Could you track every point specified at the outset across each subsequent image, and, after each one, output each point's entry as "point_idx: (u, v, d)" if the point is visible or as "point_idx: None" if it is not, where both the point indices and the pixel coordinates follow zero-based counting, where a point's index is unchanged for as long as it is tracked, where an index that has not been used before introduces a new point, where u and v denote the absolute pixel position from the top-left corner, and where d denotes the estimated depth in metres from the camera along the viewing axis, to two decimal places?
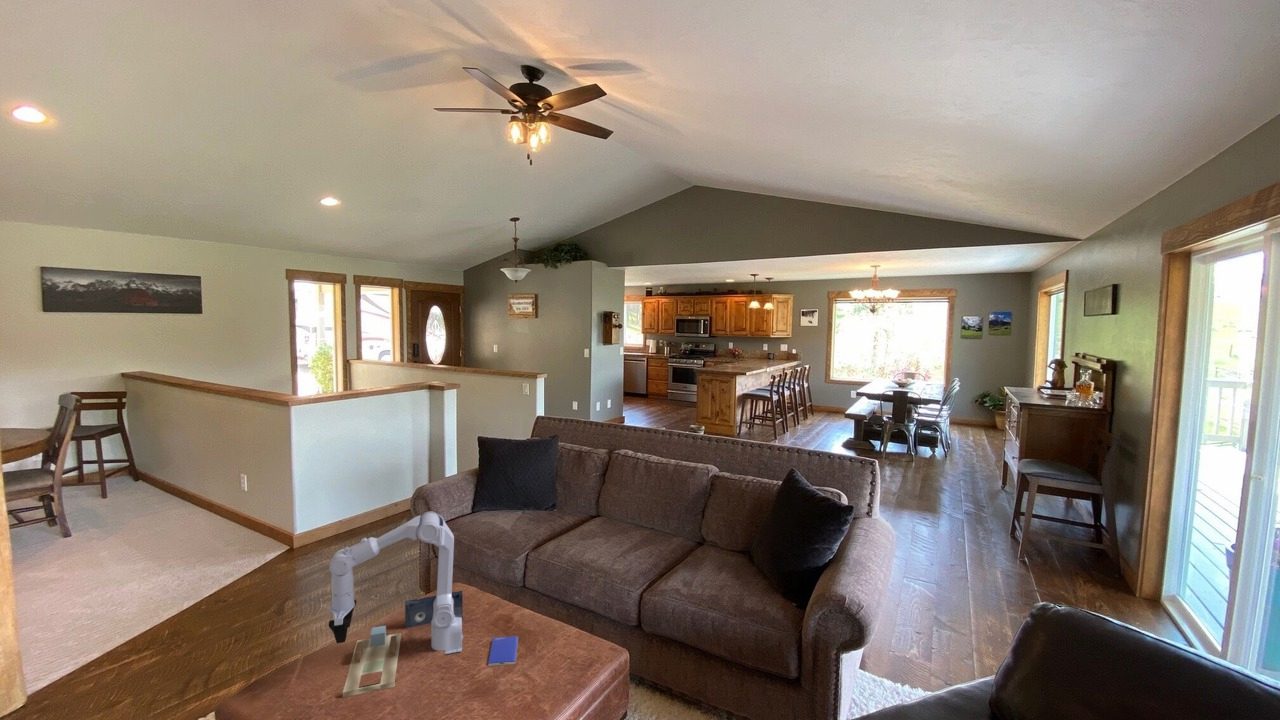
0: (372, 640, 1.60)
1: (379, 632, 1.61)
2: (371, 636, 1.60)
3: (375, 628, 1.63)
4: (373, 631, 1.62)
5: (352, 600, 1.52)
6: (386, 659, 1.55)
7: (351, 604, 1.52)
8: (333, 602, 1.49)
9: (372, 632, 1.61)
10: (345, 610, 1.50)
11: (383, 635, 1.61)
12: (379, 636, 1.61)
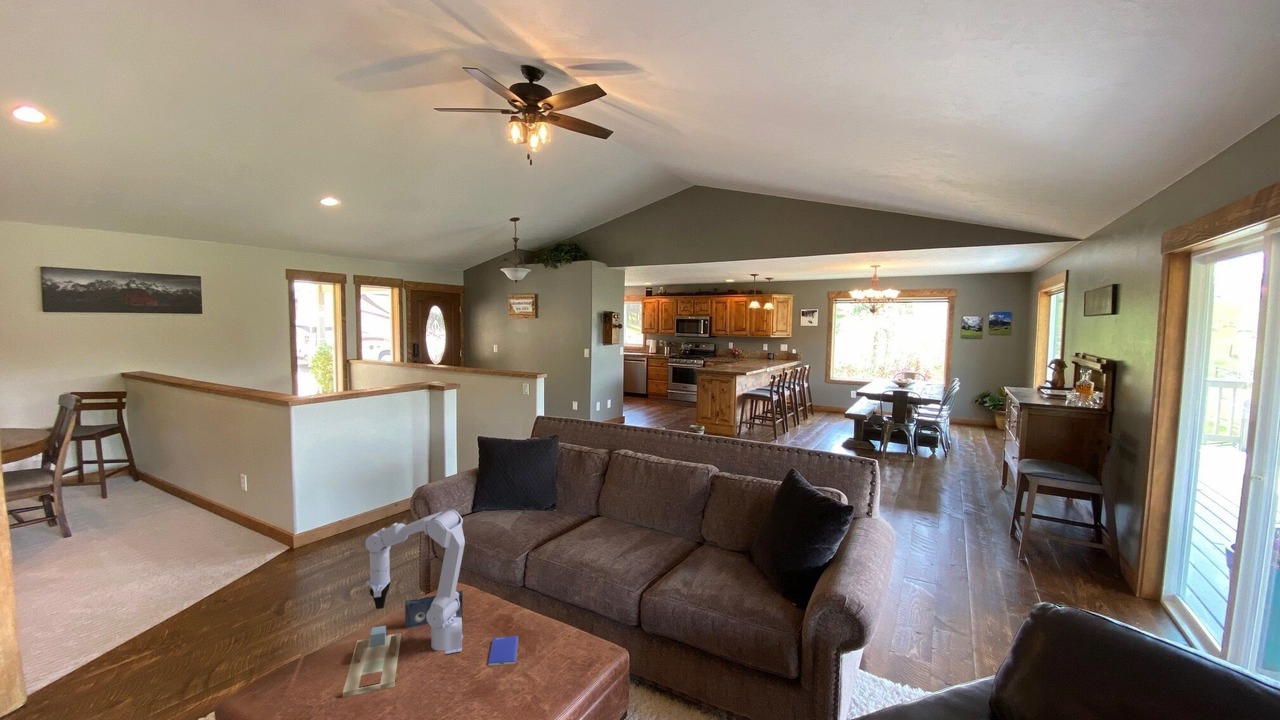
0: (372, 640, 1.60)
1: (379, 632, 1.61)
2: (371, 636, 1.60)
3: (375, 628, 1.63)
4: (373, 631, 1.62)
5: (388, 575, 1.67)
6: (386, 659, 1.55)
7: (387, 579, 1.67)
8: (371, 577, 1.64)
9: (372, 632, 1.61)
10: (382, 584, 1.65)
11: (383, 635, 1.61)
12: (379, 636, 1.61)
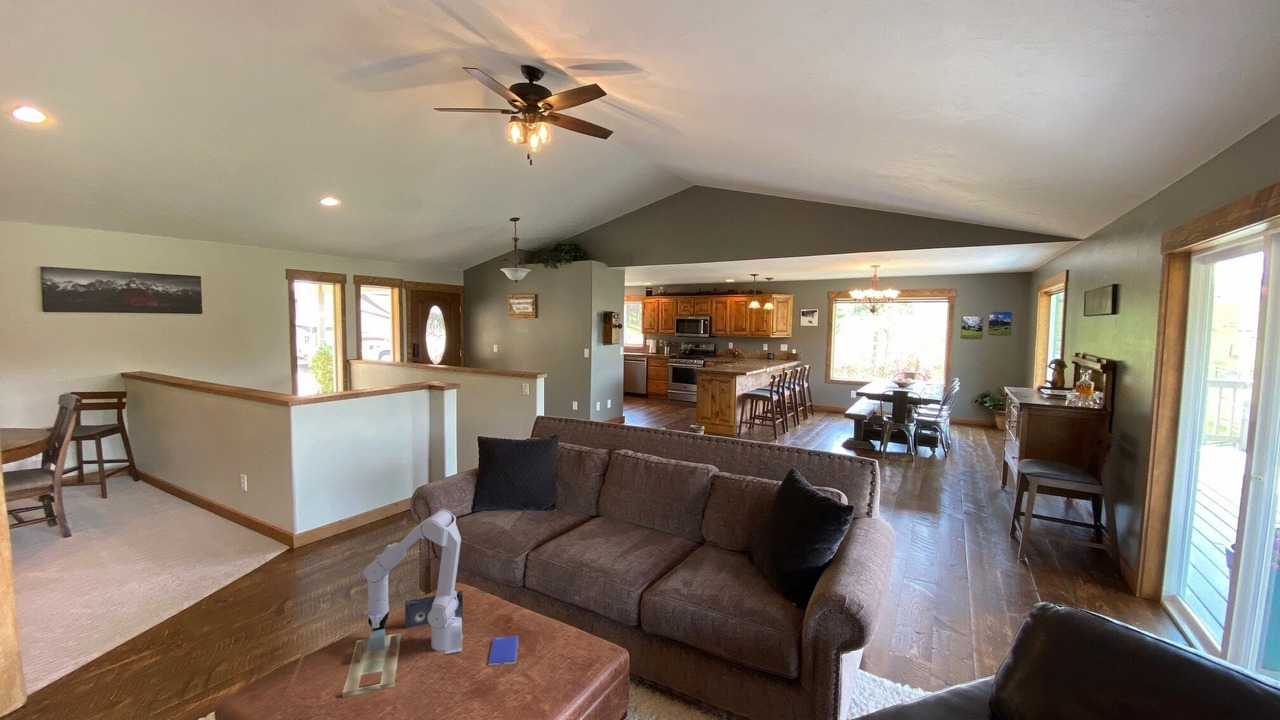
0: (371, 644, 1.59)
1: (378, 636, 1.60)
2: (370, 640, 1.58)
3: (374, 631, 1.62)
4: (372, 635, 1.60)
5: (387, 605, 1.63)
6: (386, 659, 1.55)
7: (386, 608, 1.63)
8: (370, 607, 1.61)
9: (371, 636, 1.60)
10: (381, 614, 1.61)
11: (382, 639, 1.60)
12: (378, 639, 1.59)
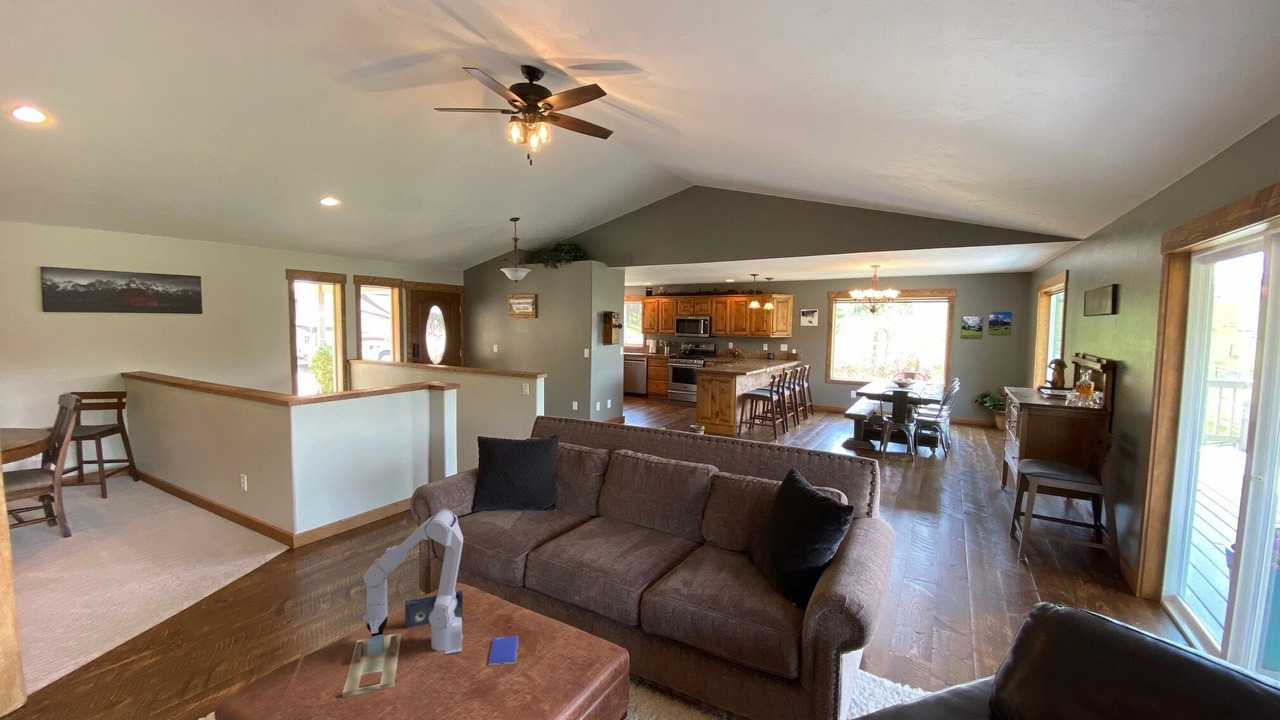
0: (370, 650, 1.56)
1: (376, 641, 1.57)
2: (369, 645, 1.56)
3: (373, 637, 1.59)
4: (370, 640, 1.57)
5: (386, 609, 1.61)
6: (386, 659, 1.55)
7: (385, 613, 1.60)
8: (368, 611, 1.58)
9: (370, 641, 1.57)
10: (380, 619, 1.59)
11: (381, 644, 1.57)
12: (377, 645, 1.57)
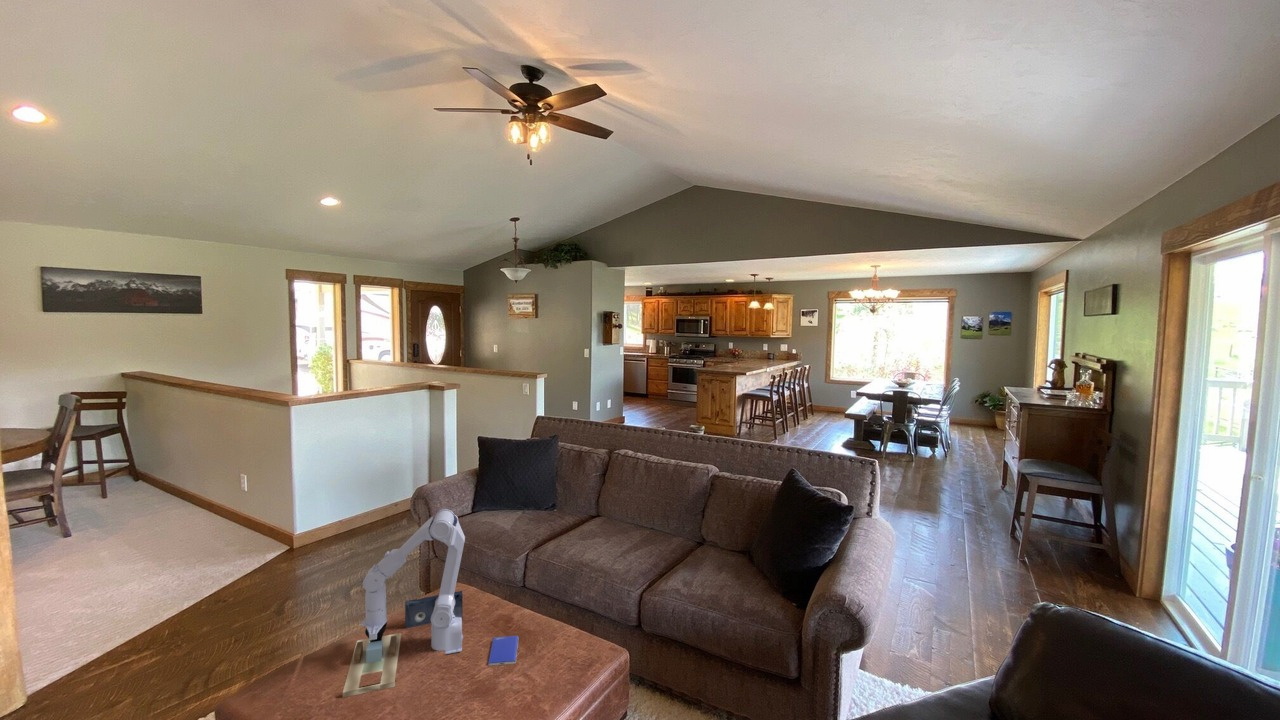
0: (368, 656, 1.53)
1: (375, 648, 1.54)
2: (367, 652, 1.53)
3: (371, 643, 1.56)
4: (369, 646, 1.54)
5: (385, 615, 1.58)
6: (386, 659, 1.55)
7: (384, 619, 1.57)
8: (367, 617, 1.55)
9: (368, 647, 1.54)
10: (378, 625, 1.56)
11: (380, 651, 1.54)
12: (376, 652, 1.54)
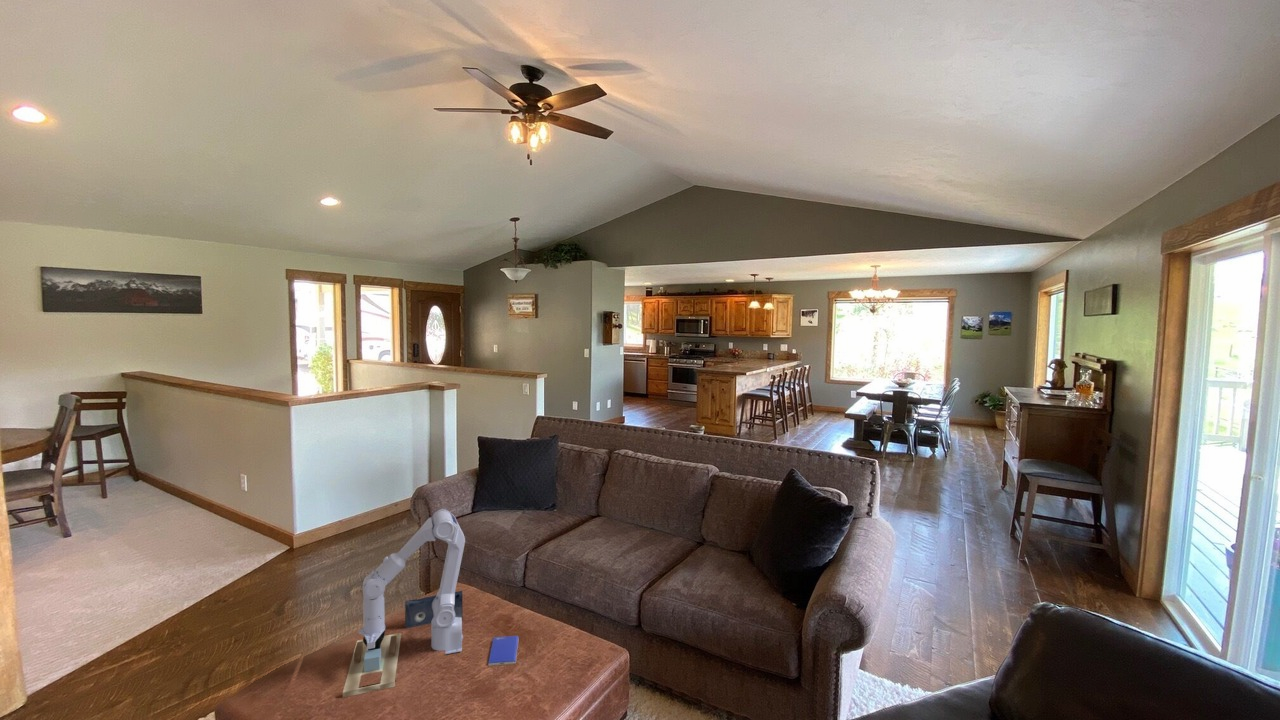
0: (366, 665, 1.49)
1: (373, 656, 1.50)
2: (365, 661, 1.49)
3: (369, 651, 1.52)
4: (367, 655, 1.51)
5: (383, 623, 1.54)
6: (386, 659, 1.55)
7: (382, 627, 1.53)
8: (365, 625, 1.51)
9: (366, 656, 1.50)
10: (377, 633, 1.52)
11: (378, 659, 1.50)
12: (374, 660, 1.50)
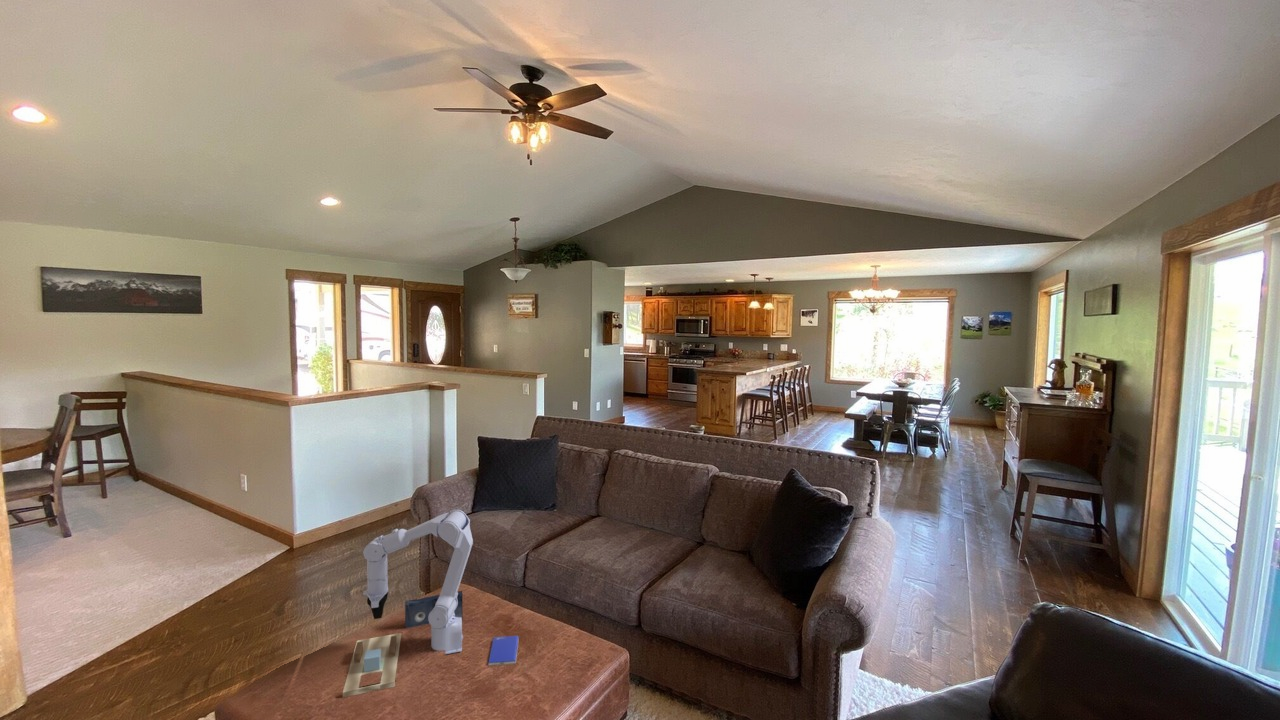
0: (366, 665, 1.49)
1: (373, 656, 1.50)
2: (365, 660, 1.49)
3: (369, 651, 1.52)
4: (367, 655, 1.51)
5: (386, 585, 1.61)
6: (386, 659, 1.55)
7: (385, 589, 1.61)
8: (369, 586, 1.59)
9: (366, 656, 1.50)
10: (380, 594, 1.59)
11: (378, 659, 1.50)
12: (374, 660, 1.50)
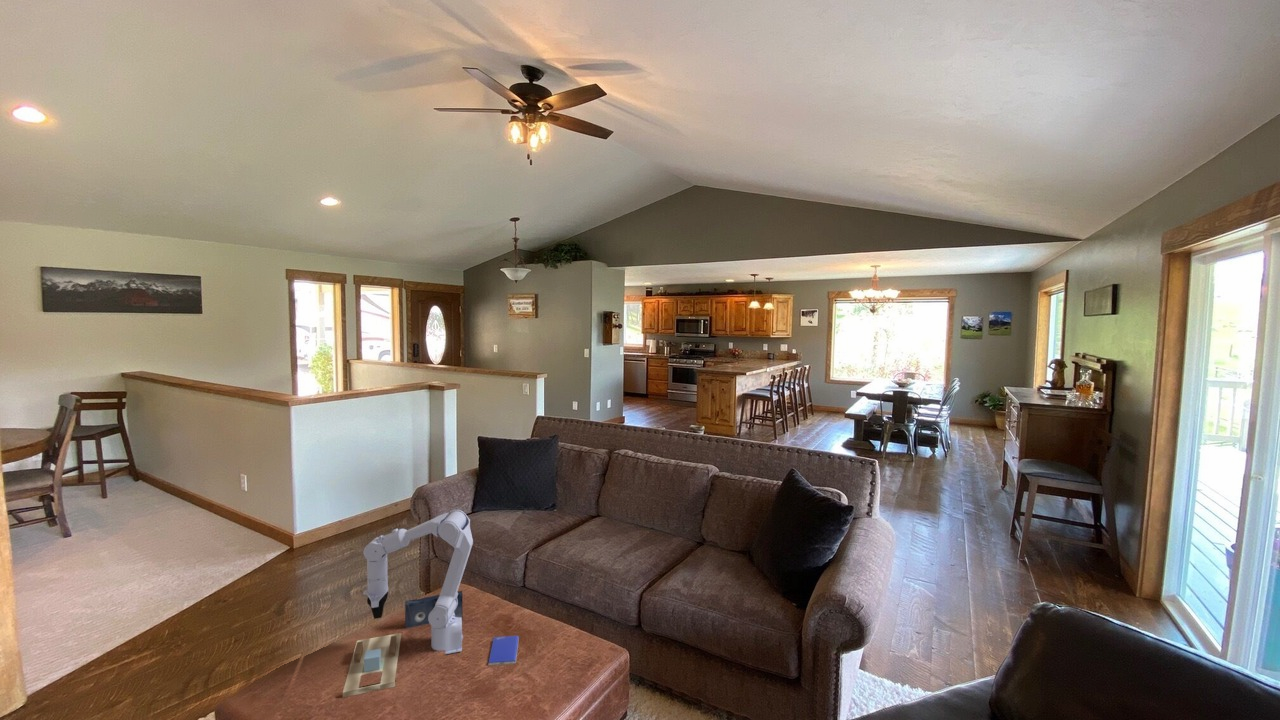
0: (366, 665, 1.49)
1: (373, 656, 1.50)
2: (365, 660, 1.49)
3: (369, 651, 1.52)
4: (367, 655, 1.51)
5: (386, 585, 1.61)
6: (386, 659, 1.55)
7: (385, 588, 1.61)
8: (369, 586, 1.59)
9: (366, 656, 1.50)
10: (380, 594, 1.59)
11: (378, 659, 1.50)
12: (374, 660, 1.50)
